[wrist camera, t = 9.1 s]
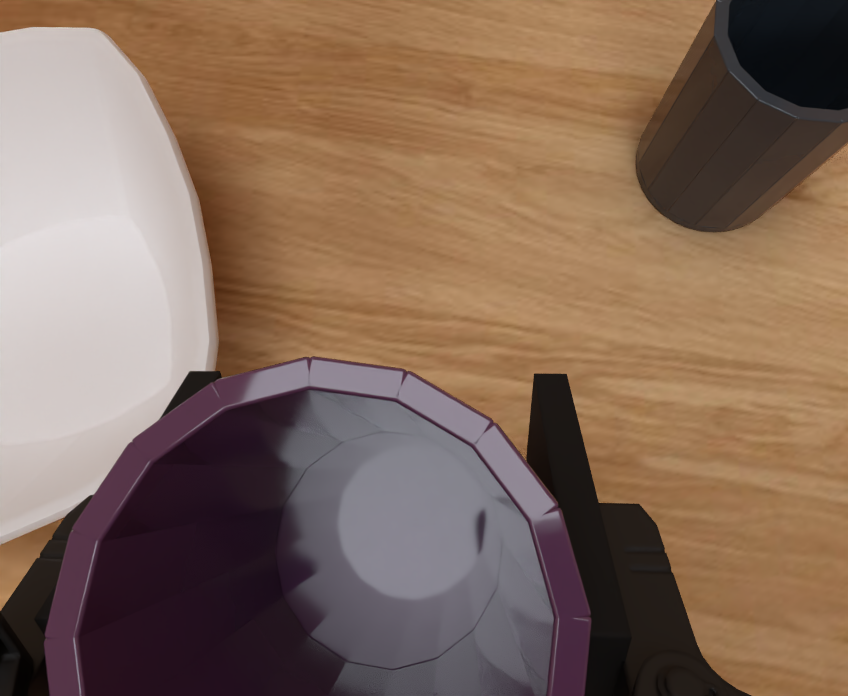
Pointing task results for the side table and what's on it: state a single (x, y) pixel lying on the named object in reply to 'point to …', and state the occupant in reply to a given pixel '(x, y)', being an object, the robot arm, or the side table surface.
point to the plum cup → (320, 550)
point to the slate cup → (748, 112)
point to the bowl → (89, 269)
